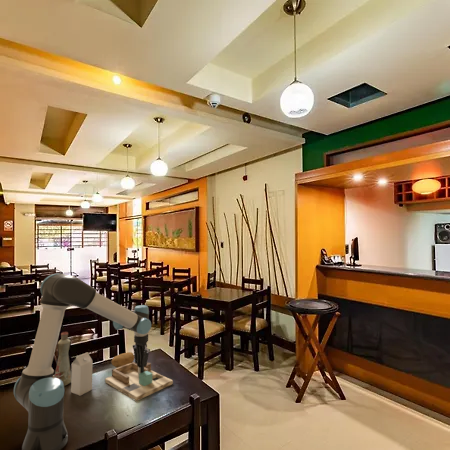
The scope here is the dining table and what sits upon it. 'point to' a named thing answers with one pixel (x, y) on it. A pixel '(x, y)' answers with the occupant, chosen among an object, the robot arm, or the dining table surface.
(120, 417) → the dining table surface
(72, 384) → the milk carton
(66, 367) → the bottle
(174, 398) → the dining table surface
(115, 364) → the potato
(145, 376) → the teal block
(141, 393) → the cubby board
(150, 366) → the walnut cube
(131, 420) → the dining table surface
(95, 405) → the dining table surface
